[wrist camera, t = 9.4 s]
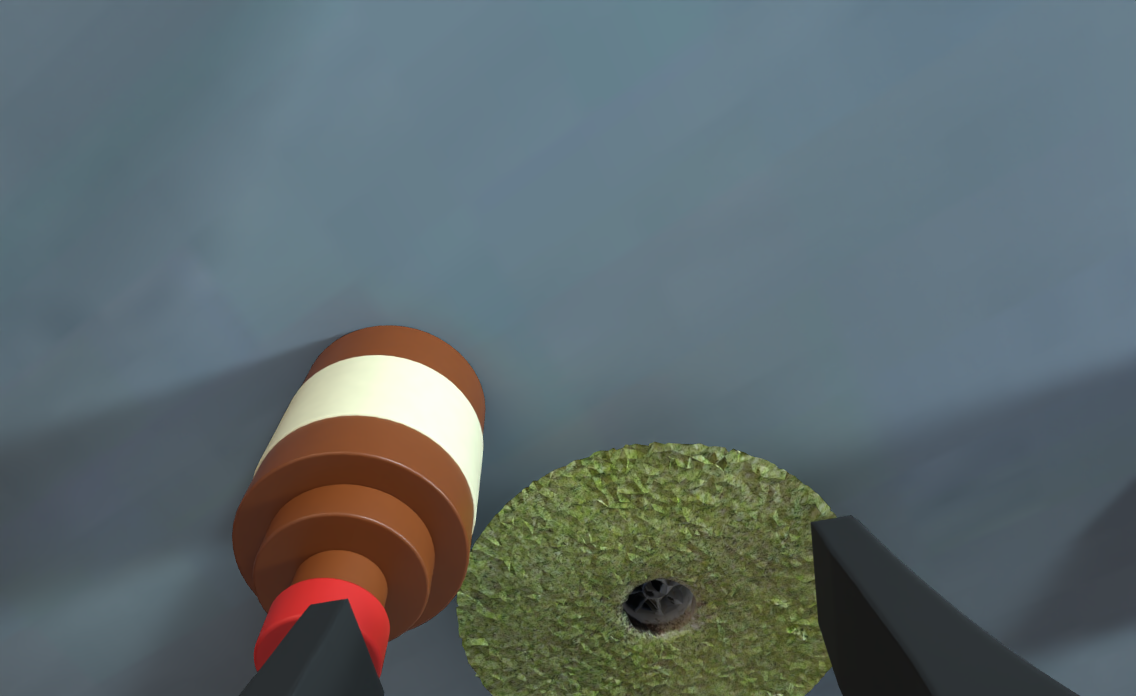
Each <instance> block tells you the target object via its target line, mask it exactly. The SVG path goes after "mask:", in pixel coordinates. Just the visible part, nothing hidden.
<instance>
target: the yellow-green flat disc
mask: <svg viewBox="0 0 1136 696" xmlns="http://www.w3.org/2000/svg"><path fill="white" fill-rule="evenodd" d="M832 518H837V517H836V515H835V514H834V513H833V512H831V511H830V507H829V506H828V505H827V504H826V503H825V502H824V500H823V499H822V498H821V497H820V496H819V495H818V494H817V493H816V492H814V491H813V490H812V489H811V488H810V487H809V486H807V485H804V484H803V483H802V482H801V481H799V480H798V479H797V478H796V477H795V476H793V475H791V474H789V473H788V472H787V471H785V470H783V469H779V468H778V467H777V466H776V465H775V464H772V463H770V462H769V461H767V460H764V459H760V458H756V457H752V456H749V455H748V454H746V453H744V452H741V451H737V450H735V449H732V450H731V451H730V452H729V453H728V451H727V450H726V448H725V447H717V446H712V447H708V446H705V445H703V444H694V445H693V444H672V443H667V444H661V443H657V442H653V443H650V444H649V446H646V445H639V444H633V445H625V446H624V448H621V449H618V450H615V449H614V448H612V449H611V450H609V451H598V452H596V453H593V454H592V455H591V456H590V457H588V458H584V459H581V460H574V461H573V462H571V463H570V464H568V465H567V466H565V467H561V468H558V469H555V470H553V471H552V472H550V473H549V474H547V475H545V476H544V477H542V478H541V479H539V480H538V481H533V482H532V483H531V484H530V486H529V487H527V488H524V489H523V490H522V491H521V492H520V493H519V494H517V495H516V497H514V498H513V499H511V500H510V501H509V502H508V503H507V504H506V505H505V506H504V507H503V509H502V510H501V511H500V512H499V513H498V514H496V515H495V516H494V518H493V519H492V520H491V522H490V523H489V524H488V525H487V527H486V528H485V530H484V531H483V532H482V533H481V535H480V537H479V538H478V539H477V541H476V542H475V544H474V546H473V548H472V551H471V552H470V556H469V565H468V569H467V573H466V576H465V578H464V581H463V583H462V585H461V587H460V589H459V590H458V592H457V604H458V605H459V607H456V609H457V616H458V623H459V628H458V629H459V637H460V638H462V646H463V648H464V650H465V653H466V656H467V659H468V663H469V664H470V665H471V667H472V668H473V669H474V671H475V672H476V673H477V674H476V675H475V676H477V677H479V678H480V679H481V681H482V684H483V686H484V687H485V688H486V689H487V690H488V691H489V692H490V693H491V694H492V695H493V696H804V695H805V694H807V693H808V692H809V691H811V690H812V689H813V687H814V686H815V685H816V684H817V683H818V682H819V681H820V679H821V678H822V677H823V676H824V675H825V673H826V672H827V671H828V670H829V669H830V668H831V667H832V664H831V661H830V658H829V655H828V652H827V649H826V646H825V643H824V640H823V637H822V634H821V631H820V627H819V624H818V613H817V600H816V587H815V574H814V561H813V548H812V535H811V522H814V521H820V520H826V519H832Z"/></svg>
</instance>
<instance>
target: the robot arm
mask: <svg viewBox="0 0 1136 696" xmlns="http://www.w3.org/2000/svg"><path fill="white" fill-rule="evenodd" d="M811 535H812V548H813V561H814V574H815V587H816V600H817V613H818V624H819V627H820V631H821V634H822V637H823V640H824V643H825V646H826V649H827V652H828V655H829V658H830V661H831V664H832V667H833V670H834V673H835V676H836V679H837V682H838V685H839V688H840V690H841V692H842V694H843V696H1079V695H1078V694H1076V693H1074V692H1073V691H1071V690H1070V689H1068V688H1067V687H1065V686H1063V685H1062V684H1060V683H1059V682H1057V681H1056V680H1054V679H1053V678H1051V677H1050V676H1048V675H1046V674H1045V673H1043V672H1042V671H1040V670H1039V669H1037V668H1036V667H1034V666H1033V665H1032V664H1030V663H1029V662H1027V661H1026V660H1024V659H1023V658H1021V657H1020V656H1019V655H1017V654H1016V653H1014V652H1013V651H1012V650H1010V649H1009V648H1007V647H1006V646H1005V645H1003V644H1002V643H1001V642H999V641H998V640H997V639H995V638H994V637H993V636H991V635H990V634H989V633H987V632H986V631H985V630H983V629H982V628H981V627H979V626H978V625H977V624H975V623H974V622H973V621H972V620H970V619H969V618H968V617H967V616H965V615H964V614H963V613H961V612H960V611H959V610H958V609H957V608H955V607H954V606H953V605H952V604H951V603H949V602H948V601H947V600H946V599H945V598H943V597H942V596H941V595H940V594H939V593H937V592H936V591H935V590H934V589H933V588H931V587H930V586H929V585H928V584H927V583H925V582H924V581H923V580H922V579H921V578H920V577H919V576H917V575H916V574H915V573H914V572H913V571H912V570H911V569H909V568H908V567H907V566H906V565H905V564H904V563H903V562H902V561H901V560H900V559H898V558H897V557H896V556H895V555H894V554H893V553H892V552H891V551H890V550H889V549H888V548H887V547H886V546H884V545H883V544H882V543H881V542H880V541H879V540H878V539H877V538H876V537H875V536H874V535H873V534H872V533H871V532H870V531H869V530H868V529H867V528H866V527H865V526H864V525H863V524H862V523H861V522H860V521H859V520H857V519H856V518H854V517H853V516H851V515H850V516H844V517H838V518H832V519H826V520H820V521H814V522H811ZM239 696H384V690H383V687H382V685H381V682H380V680H379V677H378V675H377V672H376V669H375V667H374V664H373V662H372V659H371V657H370V654H369V651H368V649H367V646H366V644H365V641H364V638H363V636H362V633H361V631H360V628H359V626H358V623H357V620H356V618H355V615H354V613H353V610H352V608H351V605H350V602H349V600H348V598H347V599H341V600H335V601H329V602H323V603H317V604H311V605H310V606H309V607H308V608H307V609H306V610H305V612H304V613H303V614H302V615H301V617H300V618H299V619H298V620H297V622H296V623H295V624H294V626H293V627H292V628H291V629H290V631H289V632H288V633H287V635H286V636H285V637H284V639H283V640H282V641H281V642H280V644H279V645H278V646H277V648H276V649H275V650H274V652H273V653H272V654H271V656H270V657H269V658H268V659H267V661H266V662H265V663H264V665H263V666H262V667H261V669H260V670H259V671H258V672H257V674H256V675H255V676H254V677H253V679H252V680H251V681H250V682H249V684H248V685H247V686H246V687H245V689H244V690H243V691H242V692H241V694H240V695H239Z"/></svg>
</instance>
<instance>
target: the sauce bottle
mask: <svg viewBox="0 0 1136 696" xmlns="http://www.w3.org/2000/svg"><path fill="white" fill-rule="evenodd" d="M484 420H485V399H484V395H483V390H482V387H481V384H480V382H479V379H478V377H477V376H476V374H475V372H474V370H473V369H472V367H471V366H470V365H469V363H468V362H467V361H466V360H465V359H464V357H463V356H462V355H461V354H460V353H459V352H458V351H456V350H455V349H454V348H453V347H451V346H450V345H449V344H447V343H446V342H444V341H442V340H441V339H439V338H437V337H435V336H433V335H431V334H429V333H426V332H423V331H420V330H417V329H413V328H408V327H402V326H375V327H369V328H364V329H361V330H357V331H354V332H352V333H349V334H347V335H345V336H343V337H341V338H340V339H338V340H336V341H335V342H333V343H332V344H331V345H330V346H328V347H327V348H326V349H325V350H324V351H323V352H322V353H321V354H320V355H319V356H318V358H317V359H316V361H315V362H314V364H313V365H312V367H311V369H310V371H309V373H308V375H307V377H306V379H305V381H304V382H303V384H302V386H301V388H300V389H299V390H298V391H297V393H296V394H295V396H294V397H293V399H292V401H291V403H290V405H289V406H288V408H287V410H286V412H285V414H284V416H283V418H282V420H281V422H280V423H279V425H278V427H277V429H276V431H275V433H274V435H273V437H272V439H271V440H270V442H269V444H268V446H267V448H266V450H265V452H264V454H263V456H262V457H261V459H260V461H259V464H258V466H257V468H256V470H255V473H254V477H253V480H252V482H251V484H250V486H249V487H248V489H247V491H246V493H245V495H244V497H243V499H242V501H241V503H240V505H239V507H238V509H237V512H236V515H235V519H234V523H233V532H232V541H233V550H234V555H235V559H236V562H237V565H238V567H239V570H240V572H241V574H242V576H243V578H244V579H245V581H246V583H247V585H248V586H249V587H250V588H251V590H252V591H253V592H254V594H255V595H256V596H257V597H258V600H259V602H260V603H261V605H262V607H263V609H264V610H265V611H266V613H267V617H266V619H265V622H264V624H263V627H262V629H261V632H260V634H259V637H258V639H257V642H256V645H255V648H254V662H255V667H256V670H257V672H258V671H259V670H260V669H261V667H262V666H263V665H264V663H265V662H266V661H267V659H268V658H269V657H270V656H271V654H272V653H273V652H274V650H275V649H276V648H277V646H278V645H279V644H280V642H281V641H282V640H283V639H284V637H285V636H286V635H287V633H288V632H289V631H290V629H291V628H292V627H293V626H294V624H295V623H296V622H297V620H298V619H299V618H300V617H301V615H302V614H303V613H304V612H305V610H306V609H307V608H308V607H309V606H310V605H311V604H317V603H323V602H329V601H335V600H341V599H347V598H348V600H349V602H350V605H351V608H352V610H353V613H354V615H355V618H356V620H357V623H358V626H359V628H360V631H361V633H362V636H363V638H364V641H365V644H366V646H367V649H368V651H369V654H370V657H371V659H372V662H373V664H374V667H375V669H376V672H377V675H378V677H379V678H380V675H381V672H382V667H383V662H384V657H385V653H386V648H387V643H388V642H389V641H391V640H393V639H395V638H397V637H398V636H400V635H401V634H403V633H404V632H406V631H408V630H411V629H413V628H415V627H417V626H419V625H421V624H423V623H425V622H427V621H428V620H430V619H431V618H433V617H434V616H436V615H437V614H438V613H439V612H441V611H442V610H443V609H444V608H445V607H446V606H447V605H448V604H449V603H450V601H451V600H452V599H453V598H454V597H455V595H456V594H457V592H458V590H459V589H460V587H461V585H462V583H463V581H464V578H465V576H466V573H467V569H468V565H469V556H470V547H471V538H472V534H473V530H474V526H475V522H476V513H477V504H478V494H479V485H480V475H481V466H482V456H483V429H484Z"/></svg>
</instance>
